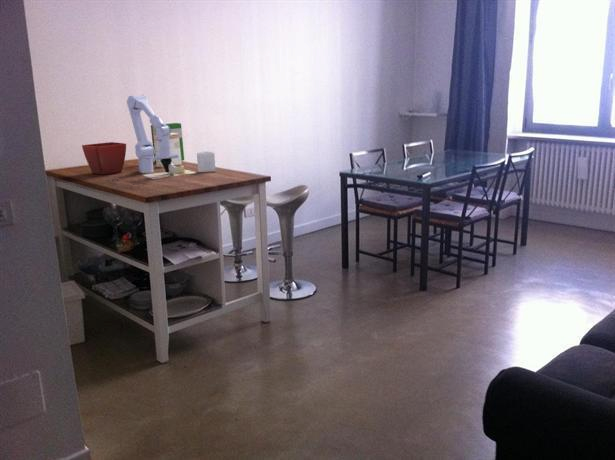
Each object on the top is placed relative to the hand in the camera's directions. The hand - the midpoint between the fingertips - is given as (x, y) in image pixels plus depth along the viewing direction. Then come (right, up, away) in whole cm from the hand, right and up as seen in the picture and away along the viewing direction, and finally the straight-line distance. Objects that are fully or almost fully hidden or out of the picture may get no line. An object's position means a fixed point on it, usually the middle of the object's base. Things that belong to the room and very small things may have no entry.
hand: (167, 172), depth 337 cm
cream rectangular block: (+5, 0, +3) cm, 5 cm away
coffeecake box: (-7, +8, +38) cm, 39 cm away
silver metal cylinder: (+4, -2, -5) cm, 7 cm away
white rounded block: (+21, 0, +7) cm, 22 cm away
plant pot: (-40, +1, +18) cm, 44 cm away
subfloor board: (+1, -2, 0) cm, 2 cm away
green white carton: (-12, +12, +56) cm, 59 cm away
